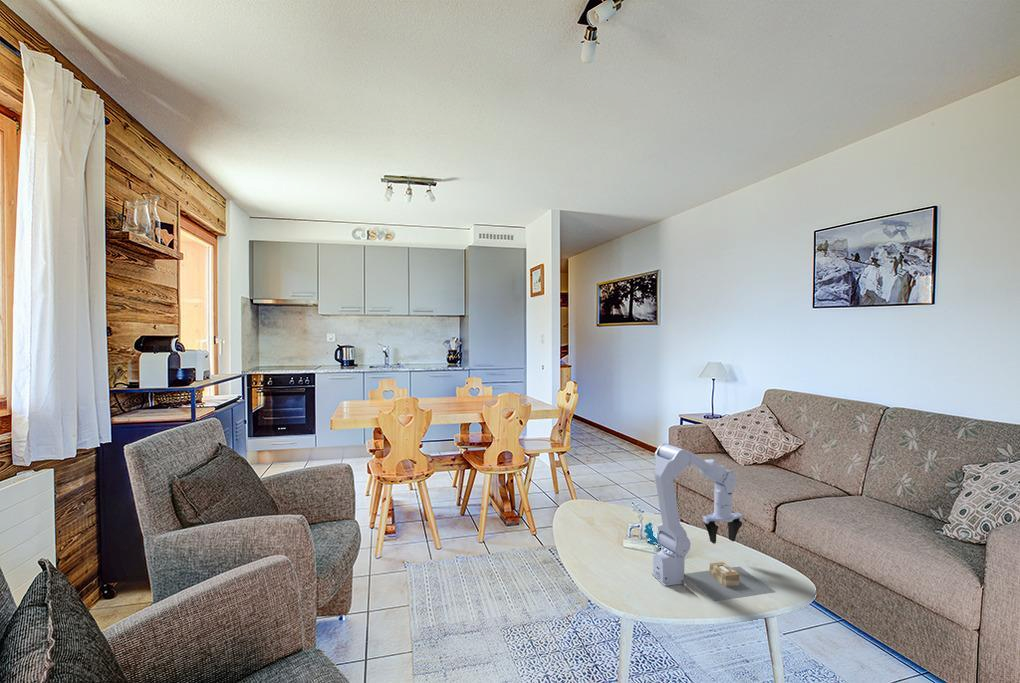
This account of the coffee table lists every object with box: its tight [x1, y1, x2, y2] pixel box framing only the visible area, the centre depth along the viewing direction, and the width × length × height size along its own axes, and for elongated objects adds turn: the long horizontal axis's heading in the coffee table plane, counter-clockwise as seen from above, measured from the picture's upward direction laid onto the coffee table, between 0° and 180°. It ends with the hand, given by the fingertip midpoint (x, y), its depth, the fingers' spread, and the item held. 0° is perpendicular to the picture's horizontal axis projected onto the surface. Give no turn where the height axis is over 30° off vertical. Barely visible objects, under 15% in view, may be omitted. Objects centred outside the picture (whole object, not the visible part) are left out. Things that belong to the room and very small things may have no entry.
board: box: [684, 566, 777, 602], centre depth 152 cm, size 22×16×4 cm
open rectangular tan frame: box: [709, 561, 739, 587], centre depth 154 cm, size 8×5×4 cm, turn 13°
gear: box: [643, 522, 659, 545], centre depth 181 cm, size 11×6×10 cm
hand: (722, 541), depth 165 cm, fingers open, 7 cm apart
